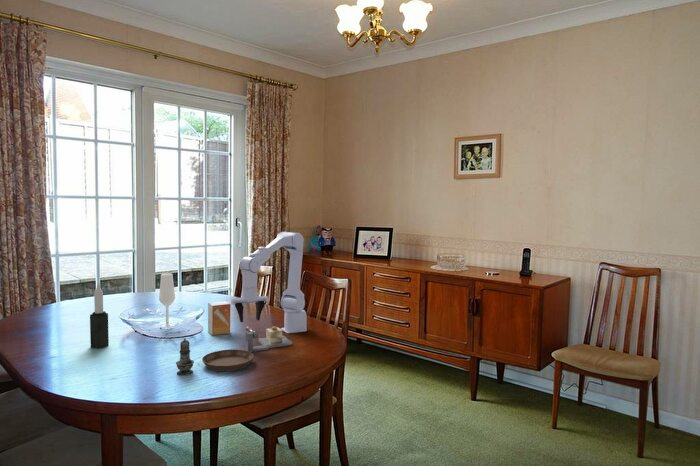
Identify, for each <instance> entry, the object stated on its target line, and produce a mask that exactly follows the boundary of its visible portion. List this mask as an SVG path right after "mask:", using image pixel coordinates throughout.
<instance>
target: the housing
mask: <svg viewBox="0 0 700 466" xmlns="http://www.w3.org/2000/svg"><path fill="white" fill-rule="evenodd" d="M265 333H266V337H265V338H266V340H268V341H269V342H270V343H274V342H281V341H282V336H283V330H282V329H281V328H280V327H277V326H271V327H269V328H266V332H265Z"/></svg>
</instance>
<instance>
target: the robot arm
mask: <svg viewBox="0 0 700 466" xmlns="http://www.w3.org/2000/svg"><path fill="white" fill-rule="evenodd" d="M304 241H305V239H304V236H303V234H301V233H300V232H291V231H290V232H289V231H281V232H279V233H278V234H276V238H274V239H273V240H272V241H270V243H268V244H267V245H266V246H259V247H257V250H255V251H253V253H250V254H249V255H248V256H244V257H242V258H241V259H240V262H239V264H238V266H239V269H240V271H241V275H242V278H241V279H242V280H241V281H242V284H241V285H242V286H241V287H242V288H241V290H242V296H241V297H237V298H236V297H235V298H231V299H230V304H231V305H233V306H234V307H235V309H236V311H237V314H238V317H239V321H240V323H243V322H244V308H245V307H244V306H243V305H244V304H251V303H255V320H256V321H260V318H261V314H262V312H263V309H264V307H265V305H266V302H267V303H268V302H269V296H267V295H259V296H258V271H260V269H261V267H262V266H263V264H264V263H265V262H267V261H268V260H270V258H271V255H272V253H274V252H276V251H277V250H279V249H281V248H282V247H283V248H284V249H286V250H287V251H288V252H289V255H290V256H289V266H288V277H287V288H286V289H285V290H284V291H283V292H282V296H281V300H280V307H281V308H283V311H284V317H283V318H284V319H283V320H284V327H281V328H280V329H281V330H282V332H285V333H286V334H296V333H303V332H307V331H308V329H307V322H308V321H307V320H308V319H307V317H308V316H307V312H306V310H305V309H304V308H305V306H306V301H305V293H303V291H302V290H301V289H300V287H301V277H302V276H301V275H302V266H303V264H302V263H303V257H304V256H303V253H304Z"/></svg>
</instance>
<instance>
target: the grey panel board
mask: <svg viewBox="0 0 700 466" xmlns="http://www.w3.org/2000/svg"><path fill="white" fill-rule="evenodd" d="M257 342H258V343H259V344H260V345H255V346H254V339H253V333H252V332H248V331H246V332H245V351H248V352H251V353H254V352H260V351H267V350H269V349H272V348H278V347H279V348H280V347H287V346H293V341H291V340H290V338H287V337H286V336H285V335H283V334H282V341H281V342H274V343H270V342H269V341H268V340H266V337H259V338H257Z"/></svg>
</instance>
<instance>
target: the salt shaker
mask: <svg viewBox="0 0 700 466" xmlns="http://www.w3.org/2000/svg"><path fill="white" fill-rule="evenodd" d="M178 352H179V357H180V358H179V360H177V361H176V362H175V365H176V367H177V370H178V371H176V375H178V376H181V377H185V376H189V375H192V374H193V373H194V370H193V369H192V368H193V366H194V363H195V360H193V359H191V356H190V354H191V353H190V352H192V351H191V350H190V341H189V340H187V339H186V337H184V339H183V340H182V341H180V350H179V351H178Z"/></svg>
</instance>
